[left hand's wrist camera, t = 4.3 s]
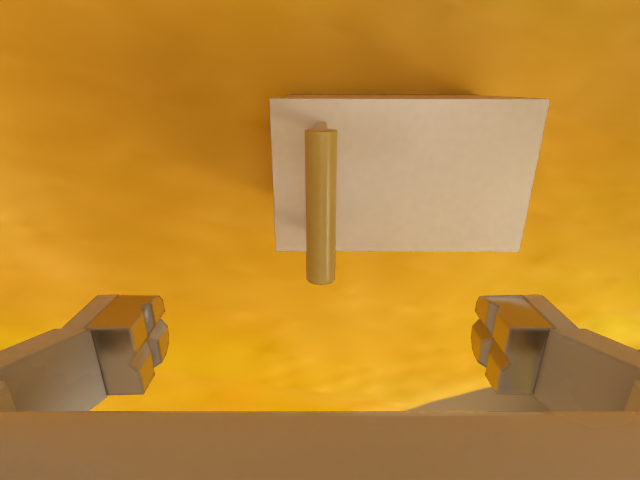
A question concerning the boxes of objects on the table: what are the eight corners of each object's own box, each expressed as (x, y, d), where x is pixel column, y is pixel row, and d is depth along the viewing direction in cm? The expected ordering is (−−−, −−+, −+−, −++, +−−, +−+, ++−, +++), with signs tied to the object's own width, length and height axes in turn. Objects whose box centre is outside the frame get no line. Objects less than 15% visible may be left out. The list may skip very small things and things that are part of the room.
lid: (277, 245, 28) (260, 305, 20) (271, 97, 24) (248, 102, 17) (512, 246, 28) (584, 306, 20) (541, 98, 24) (642, 103, 17)
